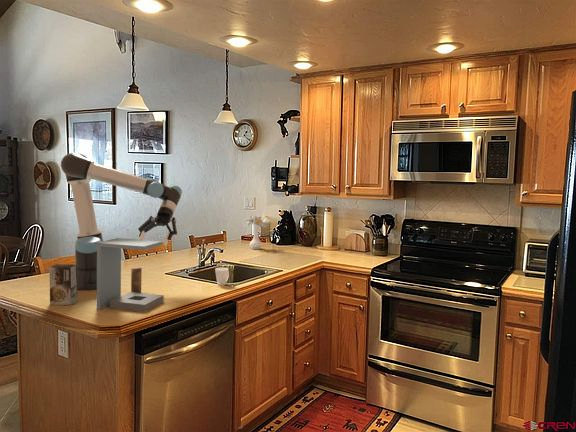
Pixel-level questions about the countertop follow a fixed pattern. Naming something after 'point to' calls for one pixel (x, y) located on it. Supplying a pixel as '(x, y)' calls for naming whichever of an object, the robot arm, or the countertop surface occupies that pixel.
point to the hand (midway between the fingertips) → (152, 243)
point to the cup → (222, 275)
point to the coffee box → (63, 284)
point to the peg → (136, 279)
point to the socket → (136, 301)
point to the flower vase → (256, 231)
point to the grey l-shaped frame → (114, 266)
